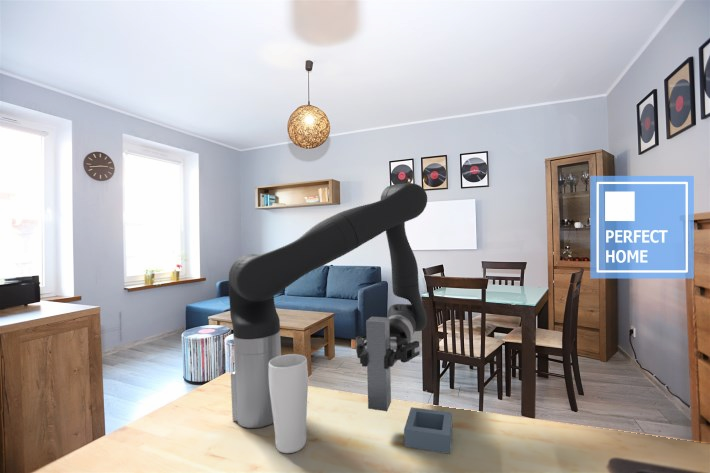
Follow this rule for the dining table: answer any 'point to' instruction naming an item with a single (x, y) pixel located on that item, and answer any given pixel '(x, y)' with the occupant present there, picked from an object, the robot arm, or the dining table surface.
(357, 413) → the dining table surface
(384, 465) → the dining table surface
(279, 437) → the drinking glass
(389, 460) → the dining table surface
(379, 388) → the square bit
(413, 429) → the socket block
